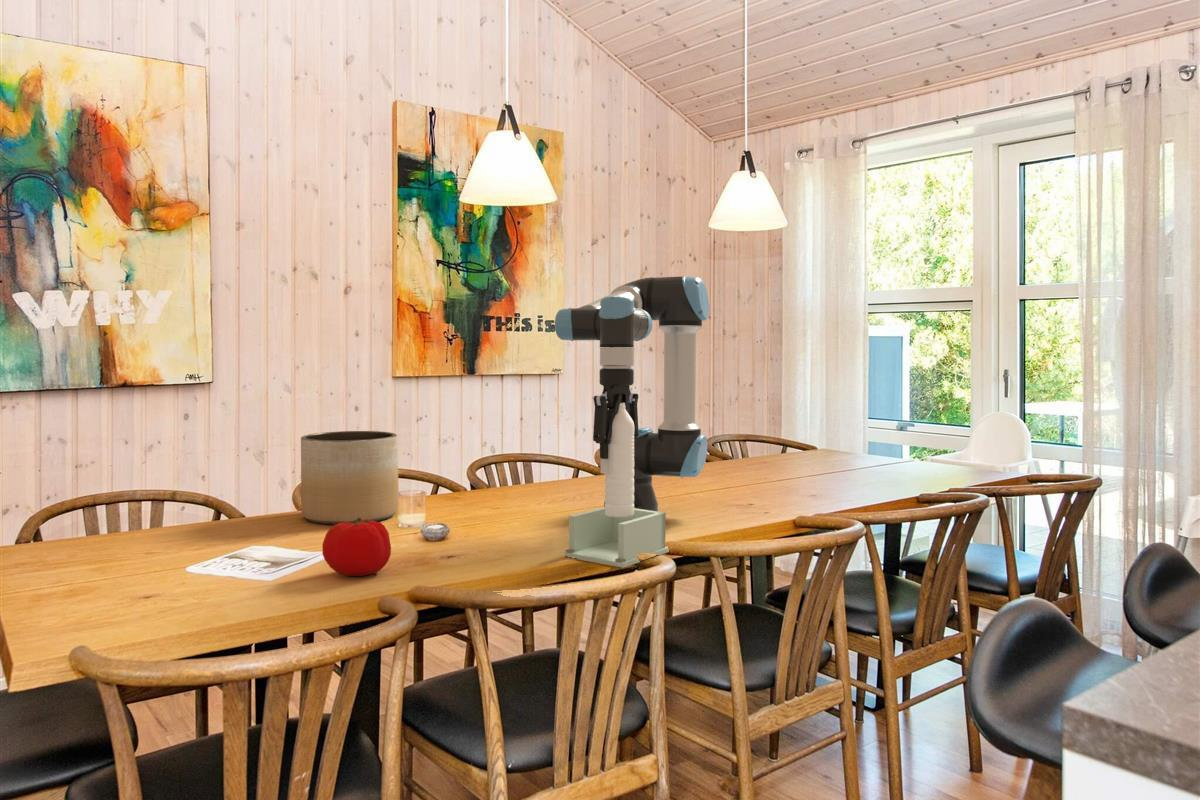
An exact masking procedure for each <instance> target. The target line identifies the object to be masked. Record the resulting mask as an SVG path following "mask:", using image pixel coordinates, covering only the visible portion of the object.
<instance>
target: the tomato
mask: <svg viewBox="0 0 1200 800" xmlns="http://www.w3.org/2000/svg"><path fill="white" fill-rule="evenodd" d="M321 546H322V555H323V558H324V561H325V563H326V564H327V565H328V566H329V568H330V569H332V570H333V571H334V572H336V573H337V574H341V575H345V576H348V577H362V576H368V575H372V574H376V573H378V572H380V571H381V570H383V568H385V566H386V564H387V563H388V562H389V559H390V557H391V554H392V547H391V541H390V534H389V532H388V530H387V528H386V526H385V524H383V523H382V522H380V521H373V520H369V519H361V518H357V519H355V520H354V521H345V522H340V523H339V524H333V526H331V527H330V528H329V529H328V531H327V532H326V534H325V536H324V539H323V542H322V545H321Z"/></svg>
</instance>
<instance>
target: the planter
mask: <svg viewBox="0 0 1200 800" xmlns="http://www.w3.org/2000/svg"><path fill="white" fill-rule="evenodd" d="M398 458H399V457H398V435H397V434H396V433H394V432H389V431H381V430H380V431H377V430H347V431H346V430H345V431H327V432H316V433H311V434H307V435H303V436H301V437H300V497H301V498H300V503H301V504H300V506H301V515H302V517H303V518H304V519H306V520H307V521H310V522H311V523H317V524H323V525H336V524H339V523H340V522H345V521H354V520H355V519H357V518H361V519H369V520H373V521H376V522H380V521H383V520H386V519H389V518H391V517H393V516H394V515H395V514H396V513H397V512H398V511H399V509H398V498H399V499H400V497H399V496H400V494H399V493H400V492H399V468H398V467H399V463H398V460H399V459H398Z"/></svg>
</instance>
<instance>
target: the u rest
mask: <svg viewBox="0 0 1200 800" xmlns="http://www.w3.org/2000/svg"><path fill="white" fill-rule="evenodd" d="M666 524H667V523H666V512H662V511H658V512H657V511H650V510H643V509H636V508H634V515H633V516H628V517H610V516H607V515H605V507H604V506H603V507H599V508H595V509H590V510H586V511H583V512H579V513H574V514H570V515H568V549H565V551H564V553H563V557H564V556H568V557H567V558H569V557H574V558H577V559H576V560H579V561H586V562H590V563H595V564H601V565H605V566H606V565H607V566H612V567H616V568H622V569H625V568H626V567H630V566H632V565H636V564H638V563H641V562H640V561H639V559H638V558H637V557H636V556H637V554H638V553H650V554H656V555H659V556H661V555H664V554H667V553H669V548H668V547H669V546H666ZM574 558H573V559H574Z"/></svg>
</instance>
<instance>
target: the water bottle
mask: <svg viewBox="0 0 1200 800" xmlns="http://www.w3.org/2000/svg"><path fill="white" fill-rule="evenodd" d="M625 407H626V406H625V403H620V405H619V410H618V413H617V414H616V415H615V418H614V420H613V424H612V435H611V440H610V444H613V474H604V476H605V478H604V485H605V486H604V493H605V495H604V502H606V503H605V515H607V516H610V517H628V516H633V515H634V422H633V420H632V418H631V417H630V415H629V414H628V412H627V411H626V409H625ZM605 438H606V437H605Z"/></svg>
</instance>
